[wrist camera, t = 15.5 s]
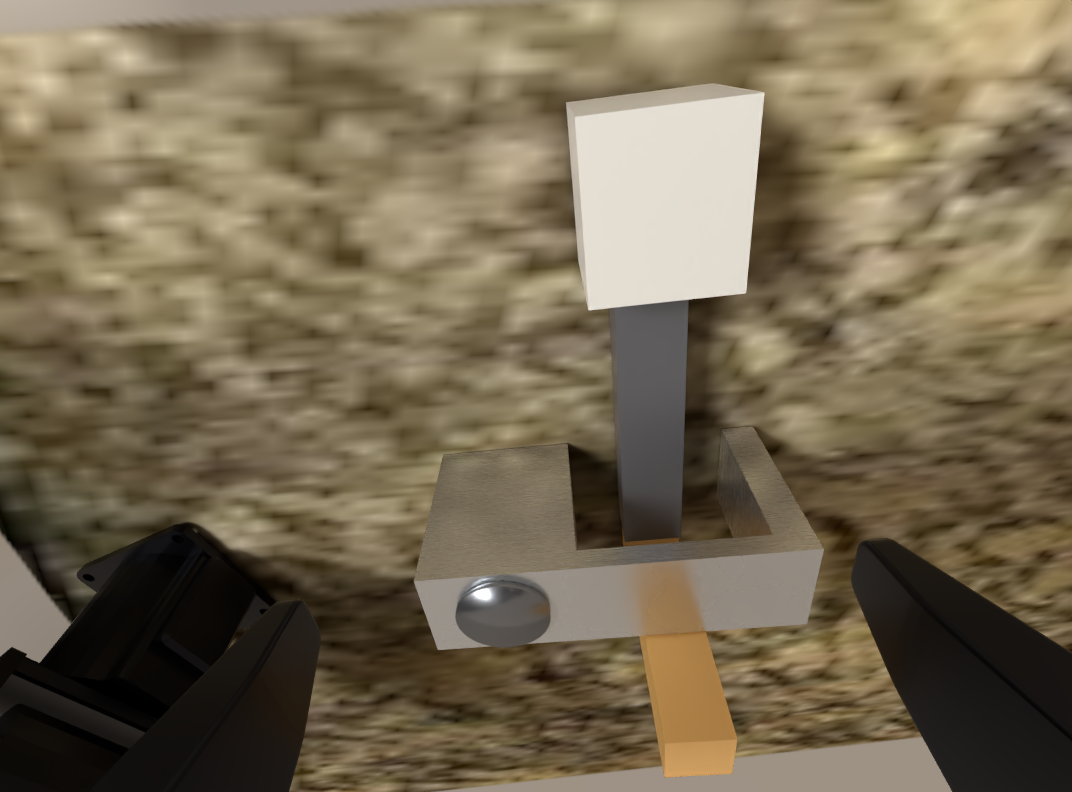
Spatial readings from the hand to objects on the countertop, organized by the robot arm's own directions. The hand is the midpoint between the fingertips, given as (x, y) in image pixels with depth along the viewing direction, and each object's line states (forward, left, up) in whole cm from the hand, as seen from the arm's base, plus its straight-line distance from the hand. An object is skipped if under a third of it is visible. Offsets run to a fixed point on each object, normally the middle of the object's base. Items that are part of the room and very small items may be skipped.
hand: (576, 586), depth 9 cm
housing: (-2, -7, -12) cm, 14 cm away
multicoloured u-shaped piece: (+2, -3, -11) cm, 12 cm away
